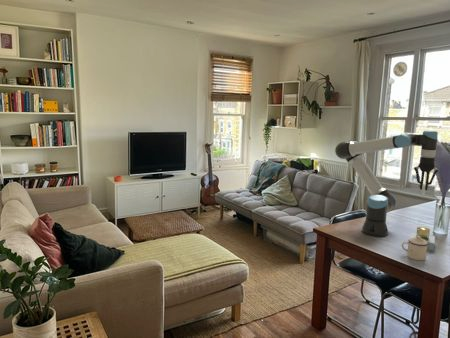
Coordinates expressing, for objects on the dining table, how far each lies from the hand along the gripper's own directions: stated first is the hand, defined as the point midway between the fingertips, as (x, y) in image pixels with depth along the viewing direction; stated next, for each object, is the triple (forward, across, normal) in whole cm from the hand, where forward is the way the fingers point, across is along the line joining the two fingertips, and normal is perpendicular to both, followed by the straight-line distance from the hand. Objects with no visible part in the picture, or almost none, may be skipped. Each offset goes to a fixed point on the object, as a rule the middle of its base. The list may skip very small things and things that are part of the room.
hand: (422, 194), depth 203 cm
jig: (+26, +4, -14) cm, 30 cm away
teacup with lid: (+27, +2, -35) cm, 44 cm away
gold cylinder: (+26, +4, -14) cm, 30 cm away
